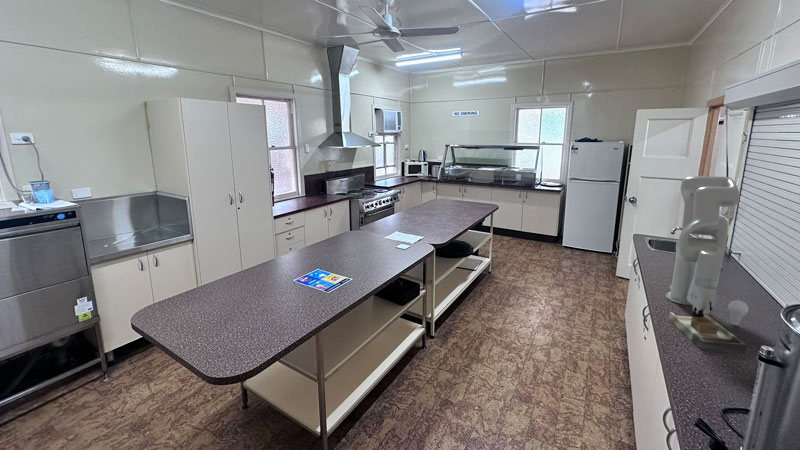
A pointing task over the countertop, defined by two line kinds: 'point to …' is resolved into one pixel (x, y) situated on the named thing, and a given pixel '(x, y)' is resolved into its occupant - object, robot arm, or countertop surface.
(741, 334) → the countertop surface
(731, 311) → the lightbulb
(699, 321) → the walnut block
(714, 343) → the trap lane
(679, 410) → the countertop surface
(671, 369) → the countertop surface
